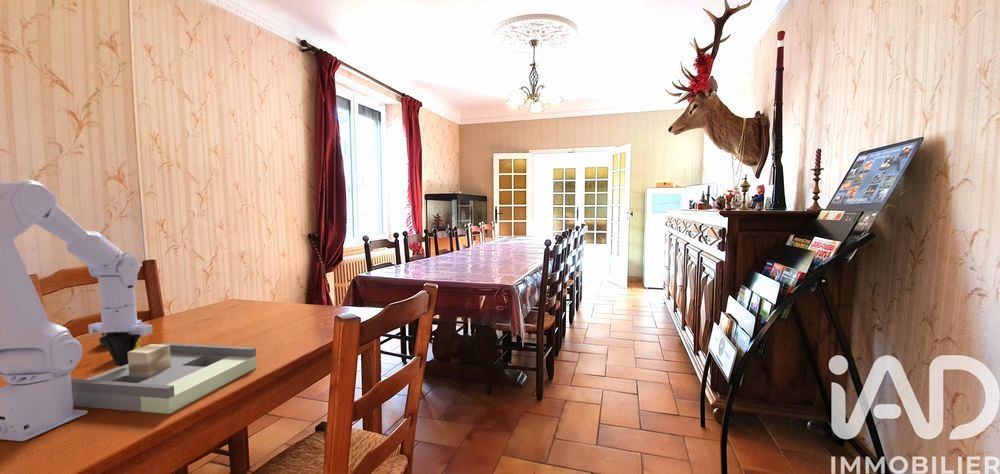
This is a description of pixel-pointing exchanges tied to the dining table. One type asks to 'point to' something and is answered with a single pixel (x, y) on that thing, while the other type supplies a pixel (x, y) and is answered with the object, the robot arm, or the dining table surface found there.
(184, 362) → the board
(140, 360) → the birch block
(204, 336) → the dining table surface
